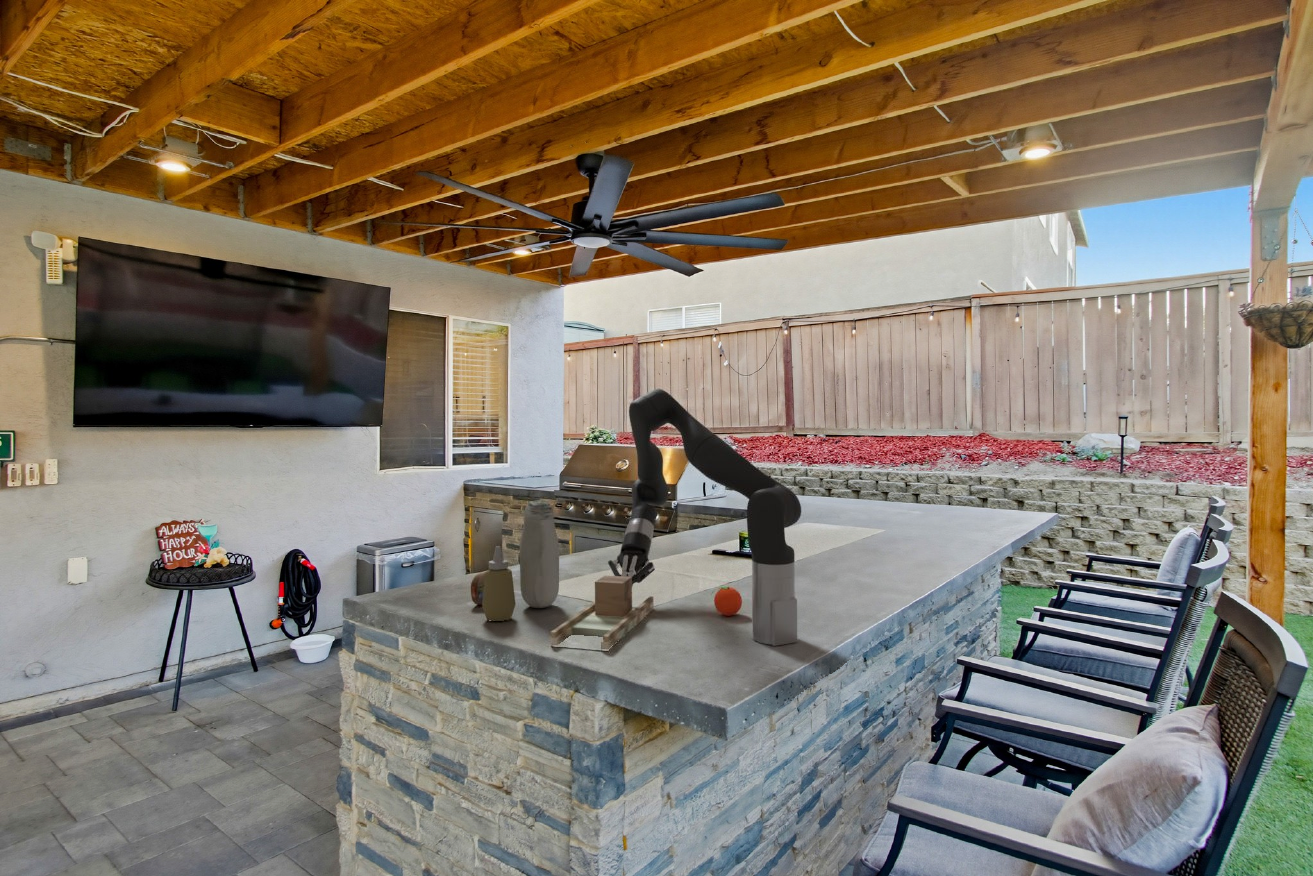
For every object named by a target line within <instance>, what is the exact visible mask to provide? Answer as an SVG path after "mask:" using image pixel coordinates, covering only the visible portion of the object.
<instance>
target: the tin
mask: <svg viewBox="0 0 1313 876" xmlns="http://www.w3.org/2000/svg"><path fill="white" fill-rule="evenodd" d="M486 571H487V570H486ZM486 571H483V572H480V573H479V574H476V575H475V576H474V577H473V578H472V580H471V582H470V595H471V600H472V602H473V604H475V605H477V606H482V601H483V590H484V578H485V572H486Z"/></svg>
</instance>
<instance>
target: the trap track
mask: <svg viewBox="0 0 1313 876" xmlns="http://www.w3.org/2000/svg"><path fill="white" fill-rule="evenodd" d="M653 610H654V596H649V597H647V598H646V599H645V600H643V602H641V603H640V604H639V605H638V606H632V610H631V611H629V612H628V613H627V614H626V615H625V616H624V617H615V616H601V615H595V601H593V602H592V603H590V604H589V605H588V606H586V607H585V608H583V609H582V610H580V611H579V612H577V613H576V614H574V615H573V616H572V617H570V618H569V619H568V620H566V621H565V622H563V623H562V624H560V625H559V626H557V627H556V628H555V629H552V630H551V631H550V646H551V645H558V644H560V643H561V642H563V641H564V640H565V639H566V638H568V637H569V636H571V635H584V636H598V637H603V640H602V641H601V649H609V648H610V647H611V646H612V645H614V644H615V643H616V642H618V640H620V639H621V638H622V637H623V636H624V635H625V636H627V634H628V631H630V630H631V629H632V628H633V629H634V628H635V627H636V626H637V625H638V624H639V623H640V622H641V621H642V620H644V617H645V618H646V617H647V616H648V615H649V614H651V612H652V611H653ZM646 615H647V616H646ZM634 626H635V627H634ZM633 629H632V630H633ZM632 630H631V631H632ZM631 631H630V632H631ZM626 633H627V634H626ZM625 636H624V637H625ZM624 637H623V638H624ZM623 638H622V639H623ZM622 639H621V640H622ZM621 640H620V641H621ZM618 643H619V642H618Z"/></svg>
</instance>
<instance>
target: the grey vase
mask: <svg viewBox="0 0 1313 876" xmlns="http://www.w3.org/2000/svg"><path fill="white" fill-rule="evenodd" d="M555 525H556V524H555V520H554V510H553V507H552V505H551V504H550V503H549V502H548V501H546V500H540V499H536V500H535V499H534V500H532V501H530V502H529V503H528V504H527V505H526V506H525V509H524V516H523V525H522V526H523V527H522V532H521V536H520V542H519V574H520V576H519V578H520V579H519V580H520V582H519V583H520V585H519V586H520V593H521V597H522V599H523V602H525V604H527V606H529V607H531V608H533V609H544V608H547V607H550V606H552V604H554V603H555V601H556V600H557V597H558V595H559V591H560V590H559V589H560V546H559V540H558V535H557V530H556V526H555Z"/></svg>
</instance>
